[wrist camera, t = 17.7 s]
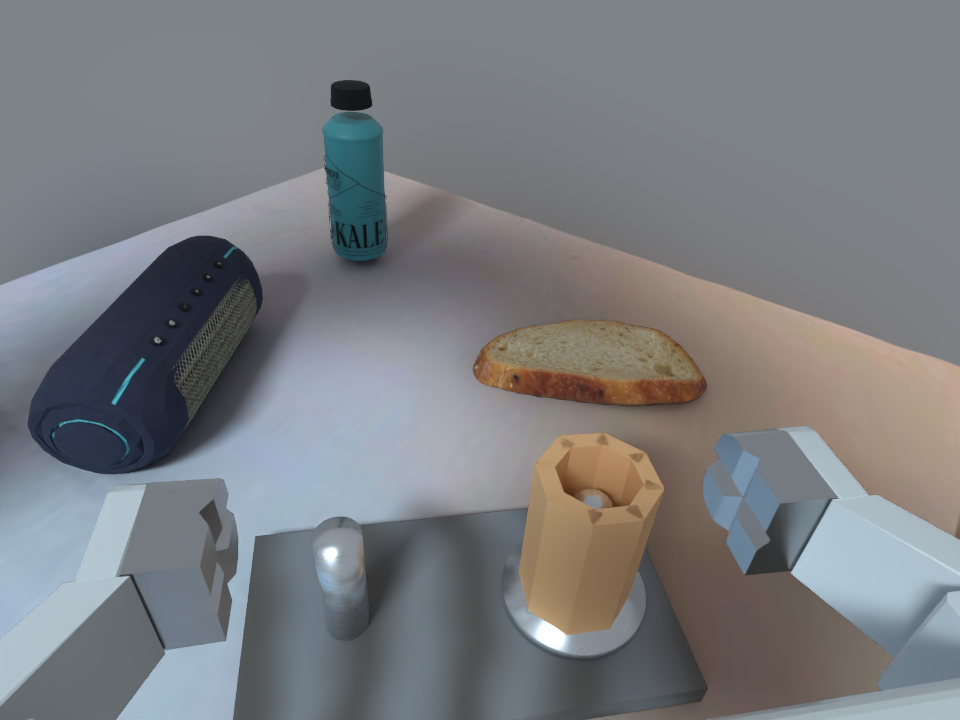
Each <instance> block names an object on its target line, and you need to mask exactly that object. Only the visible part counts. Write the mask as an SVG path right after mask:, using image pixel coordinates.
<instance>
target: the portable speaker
mask: <svg viewBox="0 0 960 720" xmlns="http://www.w3.org/2000/svg"><path fill="white" fill-rule="evenodd" d="M262 300H263V297H262V287H261V284H260V280H259V277H258V274H257V272H256V270H255V268H254V265H253V263H252V262H251V261H250V259H249V258H248V257H247V256H246V254H245V253H244V252H243V251H241V250H240V249H239V248H237V247H236V246H234V245H233V244H231V243H230V242H228V241H227V240H225V239H222V238H217V237H213V236H195V237H190V238H188V239H186V240H183V241H181V242H179V243H177V244H175V245H173V246H170V247H169V248H167V249H166V250H165V251H164V252H163V253H162V254H161V255H160V256H159V257H158V258H157V259H156V260H155V261H154V262H153V263H152V264H151V265H150V266H149V267H148V268H147V269H146V270H145V271H144V272H143V273H142V274H141V275H140V276H139V277H138V278H137V279H136V280H135V281H134V282H133V283H132V284H131V285H130V286H129V287H128V288H127V289H126V290H125V291H124V292H123V293H122V294H121V295H120V296H119V297H118V299H117V300H116V301H115V302H114V303H113V304H112V305H111V306H110V307H109V308H108V309H107V310H106V311H105V312H104V313H103V314H102V315H101V316H100V317H99V318H98V319H97V320H96V321H95V322H94V323H93V324H92V325H91V326H90V327H89V328H88V329H87V330H86V331H85V332H84V333H83V334H82V335H81V336H80V337H79V338H78V339H77V340H76V341H75V342H74V343H73V344H72V346H71V347H70V348H69V349H68V350H67V351H66V352H65V353H64V354H63V355H62V356H61V357H60V358H59V359H58V360H57V361H56V362H55V363H54V364H53V365H52V366H51V368H50V369H49V371H48V372H47V374H46V376H45V377H44V379H43V381H42V383H41V385H40V386H39V388H38V390H37V392H36V394H35V395H34V397H33V399H32V402H31V406H30V412H29V419H28V427H29V430H30V432H31V435H32V437H33V438H34V440H35V441H36V442H37V443H38V444H39V445H40V446H41V448H42V449H43V450H44V451H45V452H47V453H48V454H50V455H52V456H53V457H55V458H56V459H58V460H59V461H61V462H62V463H65V464H68V465H71V466H74V467H77V468H80V469H83V470H88V471H92V472H96V473H100V474H118V473H127V472H130V471H133V470H136V469H139V468H142V467H144V466H146V465H148V464H150V463H152V462H154V461H156V460H157V459H159V458H161V457H163V456H165V455H166V454H168V453H169V452H170V450H171V449H172V448H173V447H174V446H175V444H176V443H177V441H178V440H179V438H180V437H181V435H182V434H183V432H184V431H185V429H186V428H187V426H188V424H189V423H190V421H191V420H192V418H193V416H194V415H195V413H196V412H197V410H198V408H199V407H200V405H201V404H202V402H203V400H204V399H205V397H206V396H207V394H208V393H209V391H210V389H211V388H212V386H213V385H214V383H215V381H216V380H217V378H218V377H219V375H220V373H221V372H222V370H223V369H224V367H225V365H226V364H227V362H228V361H229V359H230V357H231V356H232V354H233V353H234V351H235V350H236V348H237V346H238V345H239V343H240V341H241V340H242V338H243V337H244V335H245V334H246V332H247V330H248V329H249V327H250V326H251V324H252V322H253V321H254V319H255V317H256V315H257V313H258V312H259V310H260V308H261V304H262Z"/></svg>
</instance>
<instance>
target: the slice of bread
mask: <svg viewBox="0 0 960 720" xmlns="http://www.w3.org/2000/svg"><path fill="white" fill-rule="evenodd" d="M473 373H474V375H475V377H476V378H477V380H478V381H479V382H480V383H482V384H485V385H487V386H490V387H496V388H500V389H503V390H507V391H512V392H515V393H519V394H527V395H533V396H537V397H549V398H555V399H560V400H571V401H576V402H583V403H598V404H604V405H610V404H615V405H622V406H636V405H649V406H650V405H656V404H676V403H685V402H689V401H692V400H695V399H697V398H698V397H700V396H701V395H702V394H703V392H704V390H706V381H705V379H704V377H703V375H702V374H701V372H700V371H699V369H698V367H697V366H696V364H695V363H694V361H693V360H692V359H691V357H690V356H689V355H688V354H687V352H686V351H685V350H684V349H683V348H682V347H681V346H680V345H679V344H678V343H676V342H675V341H674V340H672V339H671V338H670V337H669V336H667V335H666V334H664V333H663V332H661V331H659V330H656V329H652V328H647V327H640V326H634V325H630V324H625V323H621V322H617V321H613V322H611V321H603V320H598V321H590V320H568V321H564V322H561V323H558V324H548V325H534V326H530V327H525V328H520V329H516V330H514V331H512V332H509V333H506V334H503V335H500V336H498V337H496V338H495V339H493V340H492V341H491V342H489V343H488V344H487V345H486V346H485V347H484V348H483V349H482V350H481V352H480V354H479V356H478V358H477V360H476V362H475V364H474V366H473Z"/></svg>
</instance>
